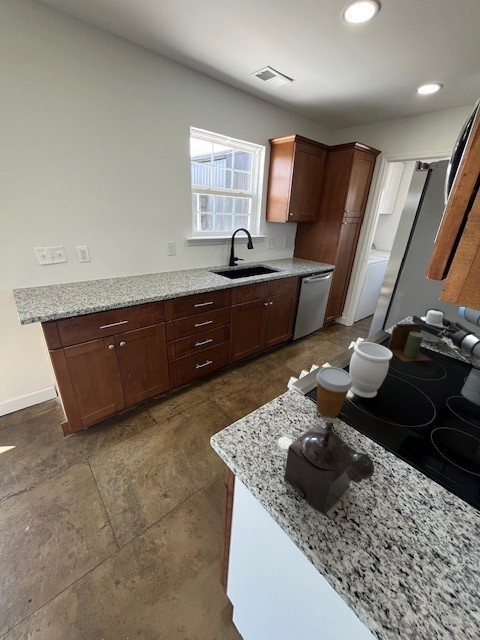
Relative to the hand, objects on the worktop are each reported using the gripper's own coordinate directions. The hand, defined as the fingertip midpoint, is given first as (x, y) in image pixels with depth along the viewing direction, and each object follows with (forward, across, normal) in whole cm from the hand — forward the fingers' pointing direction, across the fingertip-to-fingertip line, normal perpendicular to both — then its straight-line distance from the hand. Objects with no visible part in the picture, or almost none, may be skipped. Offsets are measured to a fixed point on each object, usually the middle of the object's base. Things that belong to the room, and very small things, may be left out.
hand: (424, 318), depth 119 cm
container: (-4, 0, -8) cm, 9 cm away
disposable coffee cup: (-42, -63, -10) cm, 76 cm away
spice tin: (-16, -17, -8) cm, 25 cm away
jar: (-34, -48, -10) cm, 59 cm away
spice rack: (-16, -17, -10) cm, 25 cm away
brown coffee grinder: (-64, -73, -10) cm, 98 cm away
